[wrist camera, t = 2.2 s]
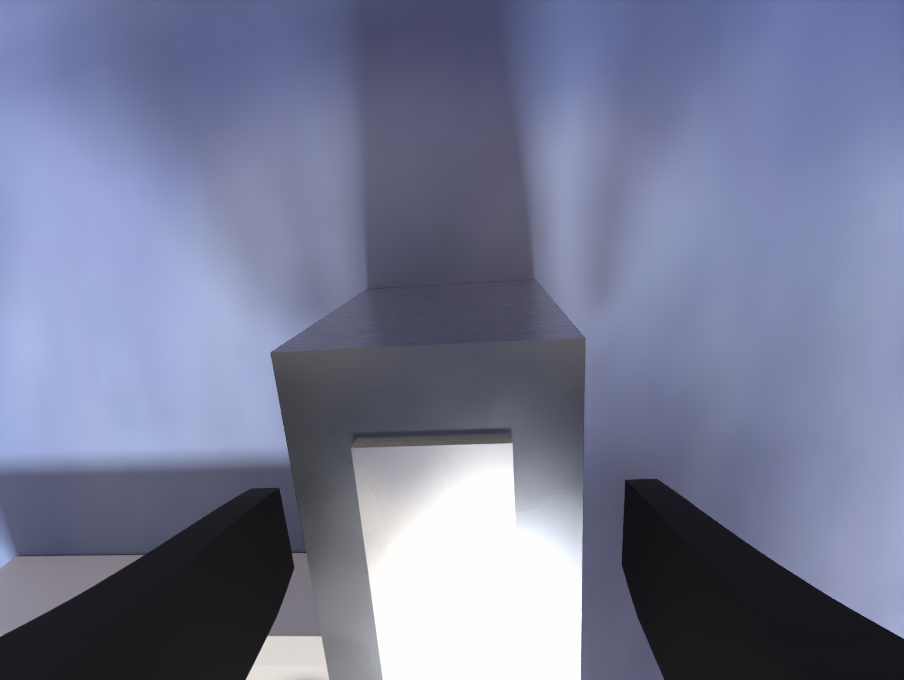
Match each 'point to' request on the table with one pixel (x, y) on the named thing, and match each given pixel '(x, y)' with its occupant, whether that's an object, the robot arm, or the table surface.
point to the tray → (63, 577)
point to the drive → (441, 481)
